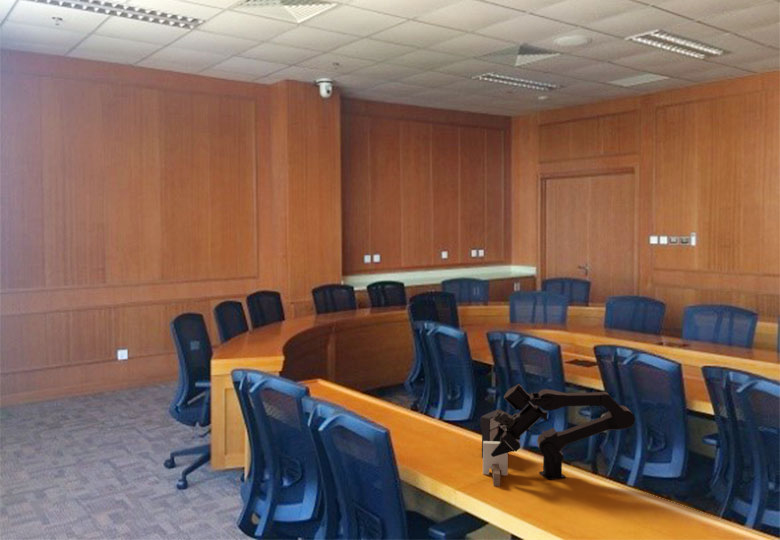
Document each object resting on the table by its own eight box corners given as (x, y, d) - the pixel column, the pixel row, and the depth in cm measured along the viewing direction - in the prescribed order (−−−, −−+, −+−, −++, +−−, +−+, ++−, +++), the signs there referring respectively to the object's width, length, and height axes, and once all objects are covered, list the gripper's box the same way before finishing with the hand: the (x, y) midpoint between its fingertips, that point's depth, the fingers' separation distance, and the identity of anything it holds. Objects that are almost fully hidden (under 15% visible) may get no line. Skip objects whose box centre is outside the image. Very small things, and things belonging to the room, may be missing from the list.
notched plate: (506, 472, 223) (507, 441, 222) (507, 475, 220) (507, 444, 219) (482, 471, 223) (483, 440, 223) (483, 474, 221) (483, 443, 220)
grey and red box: (490, 460, 234) (491, 418, 233) (480, 458, 237) (480, 416, 236) (505, 452, 243) (505, 412, 242) (494, 450, 245) (495, 410, 245)
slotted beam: (490, 461, 233) (490, 450, 232) (496, 462, 233) (496, 450, 232) (493, 485, 211) (493, 473, 211) (500, 486, 211) (500, 473, 210)
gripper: (505, 395, 229) (473, 425, 231) (510, 409, 211) (474, 442, 212) (528, 418, 229) (496, 448, 231) (535, 434, 210) (499, 467, 212)
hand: (491, 451), depth 221 cm, fingers open, 9 cm apart
